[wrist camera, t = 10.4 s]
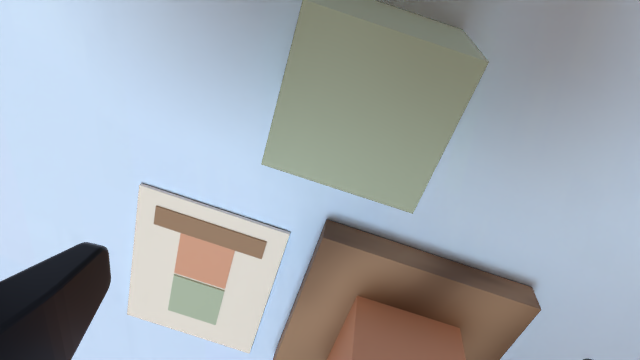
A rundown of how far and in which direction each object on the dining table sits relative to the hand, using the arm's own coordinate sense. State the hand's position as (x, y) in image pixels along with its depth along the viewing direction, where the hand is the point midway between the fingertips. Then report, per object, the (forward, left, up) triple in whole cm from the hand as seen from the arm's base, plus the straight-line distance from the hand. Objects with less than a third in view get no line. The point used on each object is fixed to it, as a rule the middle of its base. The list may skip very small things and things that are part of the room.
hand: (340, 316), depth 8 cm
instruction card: (+5, +13, -12) cm, 18 cm away
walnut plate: (-6, +12, -12) cm, 18 cm away
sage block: (0, -1, -12) cm, 12 cm away
